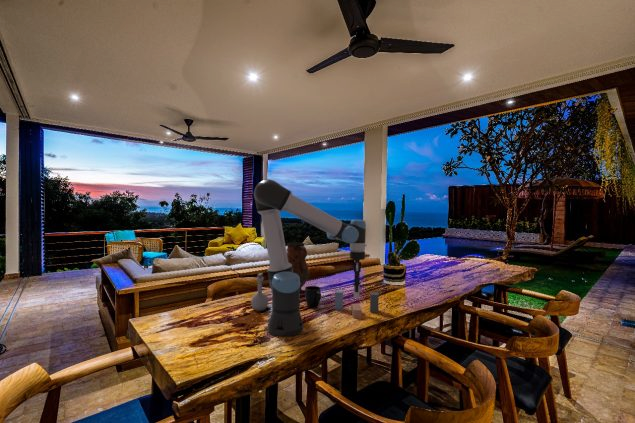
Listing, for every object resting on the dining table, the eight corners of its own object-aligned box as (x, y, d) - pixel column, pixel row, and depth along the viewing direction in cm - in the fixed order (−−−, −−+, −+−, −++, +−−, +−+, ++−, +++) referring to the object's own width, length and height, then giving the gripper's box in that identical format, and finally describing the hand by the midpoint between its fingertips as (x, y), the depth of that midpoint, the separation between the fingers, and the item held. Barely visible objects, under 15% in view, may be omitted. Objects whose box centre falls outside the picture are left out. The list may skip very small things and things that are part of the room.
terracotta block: (359, 311, 150) (361, 318, 141) (351, 311, 150) (353, 318, 141) (359, 303, 150) (361, 310, 141) (351, 303, 150) (353, 309, 141)
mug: (312, 311, 148) (312, 292, 148) (302, 304, 159) (302, 286, 159) (326, 309, 152) (326, 290, 152) (315, 302, 163) (316, 285, 163)
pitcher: (300, 286, 194) (301, 240, 193) (316, 295, 176) (317, 244, 175) (276, 289, 185) (277, 242, 185) (291, 299, 167) (292, 246, 167)
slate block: (342, 310, 151) (342, 292, 151) (334, 309, 152) (335, 292, 152) (342, 307, 155) (343, 290, 155) (335, 307, 156) (335, 290, 156)
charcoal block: (378, 312, 149) (378, 295, 149) (370, 312, 149) (370, 294, 149) (377, 310, 153) (378, 292, 153) (369, 309, 153) (370, 292, 153)
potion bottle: (271, 308, 152) (272, 273, 152) (257, 312, 146) (257, 276, 145) (261, 304, 158) (262, 270, 158) (247, 308, 152) (247, 273, 151)
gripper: (365, 253, 141) (364, 302, 141) (364, 249, 154) (363, 294, 154) (349, 252, 142) (348, 301, 142) (350, 248, 155) (349, 293, 155)
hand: (356, 297), depth 148 cm, fingers closed
